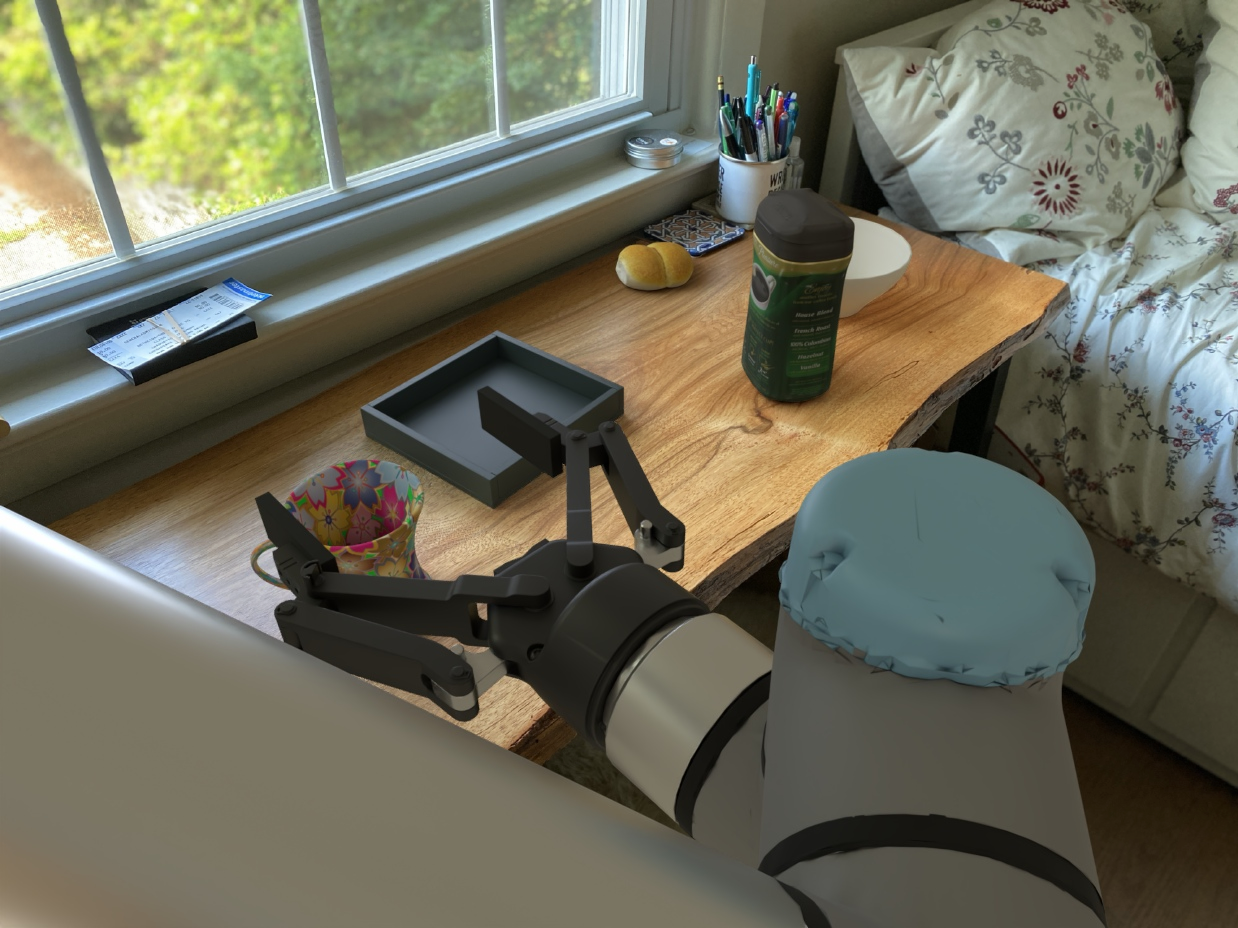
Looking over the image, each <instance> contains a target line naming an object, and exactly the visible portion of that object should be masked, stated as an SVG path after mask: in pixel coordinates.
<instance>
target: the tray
mask: <svg viewBox="0 0 1238 928" xmlns="http://www.w3.org/2000/svg"><path fill="white" fill-rule="evenodd" d="M487 385H488V386H489V387H491V388H492V389H494V390H495V391H497V392H498V393H500V394H501V395H503V396H504V397H506V398H507V399H509V400H510V401H512V402H513V403H515V404H517V405H518V406H520V407H521V408H523V409H524V410H526V411H527V412H529V413H530V414H532V415H533V414H535V413H537V412H541V413H545V414H547V415H549V416H550V417H552V418H553V419H555V420H557V421H558V422H560V423H561V424H563V425H564V426H566V427H567V428H569V429H571V430H572V431H574V430H581V431H584V432H586V433H587V434H589V433H593V432H597V431H599V426H600V424H602V423H604V422H609V421H612V422H616V420H618V419H619V418H621V417H623V415H624V414H625V387H624V386H623V385H621V384H619V383H616V382H614V381H612V380H609V379H608V378H605V377H603V376H601V375H598V374H596V373H595V372H592V371H589V370H587V369H585V368H582V367H580V366H578V365H577V364H573V363H572V362H569V361H567V360H565V359H562V358H560V357H558V356H556V355H553V354H551V353H549V352H547V351H544V350H542V349H540V348H537V347H536V346H533V345H531V344H529V343H526V342H524V341H522V340H519V339H518V338H515V337H513V336H511V335H508V334H506V333H504V332H501V331H500V330H495V331H494V332H492V333H490V334H488V335H486V336H485V337H483V338H481V339H479V340H477V341H476V342H474V343H472V344H471V345H469V346H467V347H465V348H464V349H461V350H460V351H458V352H456V353H455V354H452V355H451V356H450V357H447V358H446V359H444V360H442V361H440V362H439V363H437V364H435V365H433V366H432V367H429V368H428V369H426V370H425V371H423V372H421V373H419V374H417V375H415V376H414V377H412V378H410V379H409V380H406V381H405V382H403V383H401V384H400V385H398V386H396V387H394V388H392V389H391V390H389V391H388V392H386V393H384V394H382V395H381V396H378V397H376V398H375V399H374V400H371V401H369V402H368V403H366V404H364V405H362V406H360V407H359V410H360V415H361V419H362V424H363V429H364V434H365V436H367V437H368V438H369V439H372V440H373V441H375V442H377V443H378V444H380V445H382V446H384V447H385V448H387V449H389V450H391V451H393V452H394V453H396V455H399V456H401V457H403V458H405V459H406V460H408V461H410V462H411V463H413V464H415V465H416V466H418V467H419V468H422V469H423V470H425V471H427V472H429V474H432V475H434V476H436V477H437V478H439V479H440V480H442V481H444V482H446V483H447V484H449V485H451V486H453V487H455V488H456V489H458V490H459V491H461V492H462V493H464V494H466V495H469V496H470V497H472V498H473V499H475V500H477V501H479V502H480V503H482V504H484V505H486V506H487V507H489V508H490V509H492V510H493V509H495V508H497V507H498V506H500V505H501V504H503V503H504V502H506V500H508V499H509V498H511V497H512V496H513V495H514V494H517V492H519V491H521V490H522V489H523V488H524V487H526V486H527V485H529V484H530V483H531V482H533V481H534V480H535V479H536V478H539V476H540V475H542V474H544V472H543V471H541V470H540V469H539V468H537V467H536V466H534V465H533V464H531V463H530V462H529V461H527V460H526V459H524V458H523V457H522V456H520V455H519V454H517V453H516V452H514V451H513V450H512V449H510V448H509V447H507V446H506V445H504V444H503V443H502V442H500V441H499V440H497V439H496V438H495V437H493V436H492V435H490V434H489V433H487V432H486V431H485V430H483V429H482V426H481V418H480V410H479V402H478V395H477V390H479V389H481V388H483V387H485V386H487Z"/></svg>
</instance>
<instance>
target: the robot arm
mask: <svg viewBox="0 0 1238 928" xmlns="http://www.w3.org/2000/svg"><path fill="white" fill-rule="evenodd" d="M477 395H478V402H479V410H480V418H481V426H482V429H483V430H485V431H486V432H487V433H489V434H490V435H492V436H493V437H495V438H496V439H497V440H499V441H500V442H502V443H503V444H504V445H506V446H507V447H509V448H510V449H512V450H513V451H514V452H516V453H517V454H519V455H520V456H522V457H523V458H524V459H526V460H527V461H529V462H530V463H531V464H533V465H534V466H536V467H537V468H539V469H540V470H541V471H543V474H546V475H547V476H548V477H550V478H551V479H555V478H557V477H559V476H560V475H561V474H563V473H564V466H565V475H566V476H565V481H566V483H565V484H566V485H565V487H566V488H565V489H566V490H565V491H566V493H565V494H566V511H565V512H566V514H565V517H566V518H565V519H566V538H558V539H552V540H548V539H547V538H546V537H545V538H543V539H541V540H539V541H538V542H536V543H535V544H534V545H532V546H531V547H530V548H529V549H528V550H527V551H526V552H525V553H524V554H523V555H521V556H519V557H516V558H513V559H511V560H508V561H505V562H504V563H503V564H501V565H499V566H498V567H496V568H495V569H493V570H492V572H493V575H483V574H469V573H466V574H463V573H462V574H460V575H458V577H457V578H456V579H455V580H443V579H432V580H430V579H417V578H403V577H389V576H376V575H362V574H348V573H340V572H339V569H338V565H337V562H336V558H335V556H334V555H333V554H332V553H331V552H330V551H329V550H328V549H327V548H326V547H325V546H324V545H323V544H322V543H321V542H320V541H319V540H318V539H317V538H316V537H315V536H313V535H312V534H311V533H310V532H309V531H308V530H307V529H306V528H305V527H304V526H303V525H302V524H301V523H300V522H299V521H298V520H297V519H296V518H295V517H294V516H293V515H292V514H291V513H290V512H289V511H288V510H287V509H286V508H285V507H284V505H283V504H282V502H281V501H279V500H278V499H277V498H276V497H275V496H274V495H273V494H272V493H271V492H270V491H267V492H265V493H262V494H260V495H258V496H256V497H255V498H254V501H255V504H256V506H257V509H258V512H259V515H260V518H261V522H262V524H263V528H264V530H265V533H266V537H267V540H270V541H271V542H272V543H273V544H274V545H275V546H276V547H275V548H276V549H274V550H272V551H271V553H272V559H273V562H274V565H275V568H276V571H277V575H278V578H279V579H280V580H281V581H282V582H283V583H284V584H285V585H286V586H287V588H288V589H289V590H288V591H290V592H291V593H292V594H293V596H295V599H286V600H283V601H282V602H280V603H278V604H277V605H276V606H275V608H274V611H273V616H274V618H275V622H276V624H277V627H278V630H279V633H280V635H281V639H282V640H280V639H279V638H276V637H274V636H272V635H270V634H268V633H266V632H264V631H262V630H260V629H258V628H256V627H254V626H251V625H249V624H247V623H245V622H244V621H241V620H240V619H237V618H236V617H233V616H230V615H229V614H227V613H224V612H222V611H220V610H218V609H216V608H215V607H212V606H210V605H208V604H206V603H204V602H202V601H200V600H197V599H195V598H193V597H191V596H190V595H187V594H185V593H184V592H181V591H179V590H177V589H176V588H175V589H174V588H173V587H170V586H169V585H166V584H164V583H163V582H161V581H158V580H156V579H155V578H152V577H150V576H148V575H146V574H144V573H142V572H140V571H137V570H135V569H133V568H131V567H129V566H127V565H125V564H123V563H121V562H119V561H116V560H115V559H112V558H110V557H108V556H106V555H104V554H102V553H100V552H98V551H96V550H93V549H92V548H90V547H88V546H85V545H83V544H81V543H79V542H78V541H75V540H74V539H71V538H69V537H67V536H65V535H63V534H60V533H59V532H56V531H54V530H53V529H50V528H48V527H46V526H44V525H42V524H40V523H38V522H36V521H33V520H31V519H30V518H27V517H25V516H24V515H22V514H19V513H18V512H16V511H14V510H11V509H9V508H6V507H4V506H3V505H0V928H1108V921H1107V918H1106V910H1105V905H1104V901H1103V896H1102V890H1101V886H1100V881H1099V876H1098V872H1097V867H1096V862H1095V857H1094V853H1093V847H1092V843H1091V838H1090V833H1089V829H1088V823H1087V818H1086V814H1085V809H1084V804H1083V799H1082V794H1081V790H1080V786H1079V780H1078V775H1077V771H1076V767H1075V761H1074V755H1073V752H1072V748H1071V741H1070V738H1069V733H1068V728H1067V725H1066V719H1065V715H1064V710H1063V702H1062V701H1063V699H1062V696H1063V695H1062V690H1063V689H1062V688H1063V679H1064V674H1065V672H1066V670H1067V669H1066V668H1067V667H1068V665H1070V664H1071V663H1073V662H1074V661H1076V660H1077V659H1078V658H1079V656H1080V655H1081V652H1082V650H1083V643H1084V641H1085V639H1086V637H1087V636H1086V635H1087V634H1086V629H1085V622H1086V619H1087V615H1088V612H1089V608H1090V605H1091V601H1092V598H1093V594H1094V590H1095V587H1096V580H1097V579H1096V578H1097V577H1096V576H1097V575H1096V561H1095V557H1094V553H1093V549H1092V546H1091V544H1090V541H1089V539H1088V537H1087V535H1086V534H1085V531H1084V530H1083V528H1082V527H1081V525H1080V524H1079V522H1078V521H1077V519H1076V518H1075V517H1074V515H1073V514H1072V513H1071V512H1070V511H1069V510H1068V509H1067V507H1066V506H1065V505H1064V503H1062V502H1061V501H1060V500H1059V499H1058V498H1056V497H1055V496H1054V495H1053V494H1052V493H1050V492H1049V491H1048V490H1046V489H1045V488H1044V487H1042V486H1041V485H1039V484H1038V483H1037V482H1035V481H1034V480H1032V479H1030V478H1029V477H1026V476H1025V475H1024V474H1021V473H1020V472H1018V471H1015V470H1014V469H1011V468H1009V467H1006V466H1005V465H1003V464H1000V463H997V462H995V461H992V460H989V459H986V458H983V457H980V456H976V455H973V454H970V453H965V452H960V451H952V452H944V451H943V452H942V451H937V450H927V449H924V448H920V447H897V448H891V449H885V450H878V451H873V452H869V453H866V454H862V455H860V456H857V457H854V458H852V459H850V460H848V461H845V462H843V463H841V464H838V465H837V466H836V467H833V468H832V469H830V470H829V471H828V472H827V473H825V474H824V475H823V476H821V478H819V480H818V481H817V482H816V483H814V485H813V486H812V487H811V488H810V489H809V491H808V492H807V494H806V495H805V497H803V499H802V502H801V505H800V506H799V509H798V511H797V514H796V517H795V520H794V521H795V522H794V527H793V530H792V536H791V541H790V545H789V550H788V556H787V559H786V560H784V561H783V562H782V564H781V566H780V568H779V570H778V578H779V580H778V581H779V583H781V584H780V589H779V592H778V599H779V600H778V601H779V603H780V605H779V612H778V619H777V620H778V621H777V626H776V629H777V630H776V634H775V635H776V636H775V643H774V651H773V650H772V649H771V648H769V647H768V646H766V645H765V644H764V643H762V642H761V641H759V640H758V639H757V638H755V637H754V636H753V635H751V634H750V633H749V632H747V631H746V630H744V628H742V627H740V626H739V625H738V624H737V623H735V622H734V621H733V620H731V619H730V618H728V617H727V616H726V615H723V614H720V613H716V612H711V610H710V608H709V606H708V604H707V603H705V601H703V600H702V599H701V598H699V597H697V596H696V595H695V594H693V593H692V592H691V591H690V590H688V589H686V588H685V587H684V586H682V585H681V584H679V583H678V582H677V581H675V580H674V579H673V578H671V577H670V576H669V575H667V574H666V573H670V574H671V573H672V574H673V573H675V574H676V573H678V572H680V571H682V570H683V569H684V566H685V549H686V531H687V529H686V525H685V524H684V522H683V521H682V520H680V519H679V518H678V517H677V516H675V515H674V514H673V513H672V512H671V511H669V510H668V509H667V508H666V507H664V506H663V505H662V504H661V502H660V500H659V498H658V495H657V494H656V492H655V491H654V488H653V486H652V484H651V482H650V480H649V478H648V477H647V475H646V473H645V471H644V469H643V467H642V465H641V464H640V461H639V459H638V457H637V455H636V454H635V451H634V450H633V448H632V445H631V444H630V442H629V440H628V438H627V435H626V434H625V432H624V430H623V427H621V425H620V423H618V422H616V421H613V422H612V421H609V422H604V423H602V424H600V426H599V431H597V432H593V433H589V434H587V433H586V432H584V431H581V430H574V431H572V430H571V429H569V428H567V427H566V426H564V425H563V424H561V423H560V422H558V421H557V420H555V419H553V418H552V417H550V416H549V415H547V414H545V413H541V412H537V413H535V414H533V415H532V414H530V413H529V412H527V411H526V410H524V409H523V408H521V407H520V406H518V405H517V404H515V403H513V402H512V401H510V400H509V399H507V398H506V397H504V396H503V395H501V394H500V393H498V392H497V391H495V390H494V389H492V388H491V387H489V386H488V385H487V386H485V387H483V388H481V389H479V390H477ZM599 466H600V467H601V470H602V472H603V474H604V477H605V478H606V480H607V482H608V485H609V487H610V489H611V491H612V494H613V496H614V498H615V500H616V502H617V505H618V506H619V509H620V511H621V513H622V515H623V517H624V519H625V521H626V524H627V526H628V528H629V530H630V533H631V535H632V537H633V542H634V543H633V548H632V547H628V546H625V545H619V544H618V545H617V544H610V543H609V544H608V543H601V542H600V543H599V542H594V538H593V537H594V535H593V514H592V511H593V510H592V493H591V491H592V489H591V470H590V469H593V468H597V467H599ZM660 569H661V570H660ZM662 570H663V571H664V572H665V573H664V572H663V571H662ZM478 604H482V605H483V604H485V605H486V619H485V618H482V617H481V616H480V614H479V610H478V609H479V608H478ZM424 636H427V637H428V636H429V637H442V638H453V639H455V640H457V641H458V642H459V644H458V643H457V644H454V645H452V646H451V647H450V648H448V647H446V646H445V645H443V644H441V643H440V642H437V641H436V640H433V639H430V638H427V637H424ZM463 645H464V646H467V647H477V648H487V649H486V650H485V651H481V652H471V651H467V650H465V648H464V646H463ZM504 677H508V678H513V679H517V680H519V681H522V682H523V683H525V684H527V685H529V686H530V687H531V688H532V690H533V691H534V692H535V693H536V694H537V696H538V697H539V698H540V699H541V700H542V701H543V703H545V705H547V707H549V708H550V709H551V710H552V711H553V712H554V713H555V714H556V715H557V716H559V717H560V718H561V719H562V720H563V721H564V722H565V723H566V724H567V725H568V726H570V727H571V728H572V729H573V730H574V731H575V732H576V733H577V734H578V735H579V736H580V737H581V738H582V739H584V740H585V742H587V743H588V744H589V745H590V746H591V747H592V748H593V749H596V750H597V751H602V752H605V755H606V757H607V758H608V760H609V761H610V763H611V765H612V766H613V767H614V768H616V769H617V770H618V771H619V772H620V773H621V774H622V775H623V776H624V777H625V778H627V780H629V781H630V782H631V783H632V784H633V785H634V786H635V787H636V788H637V789H639V790H640V791H641V792H642V793H643V794H644V795H645V796H646V797H647V798H648V799H650V800H651V802H653V803H654V804H655V805H656V806H657V807H658V808H659V809H660V810H661V811H663V812H664V814H666V815H667V816H668V817H669V818H670V819H671V820H673V822H675V824H677V825H678V826H679V828H680V829H681V830H682V831H684V832H685V833H686V834H687V835H685V834H684V833H682V832H679V831H677V830H675V829H674V828H671V827H669V826H667V825H665V824H663V823H660V822H659V821H656V820H655V819H653V818H650V817H648V816H646V815H644V814H642V813H640V812H638V811H635V810H634V809H631V808H629V807H627V806H625V805H623V804H621V803H619V802H617V801H615V800H613V799H611V798H608V797H607V796H605V795H602V794H600V793H598V792H596V791H594V790H592V789H590V788H588V787H586V786H584V785H581V784H580V783H577V782H575V781H573V780H571V779H569V778H567V777H565V776H563V775H561V774H559V773H556V772H555V771H553V770H551V769H548V768H546V767H544V766H542V765H540V764H538V763H537V762H534V761H532V760H531V759H528V758H526V757H524V756H521V755H520V754H517V753H515V752H513V751H511V750H509V749H507V748H505V747H503V746H501V745H499V744H497V743H495V742H492V741H491V740H488V739H486V738H484V737H482V736H480V735H478V734H476V733H473V732H472V731H470V730H467V729H465V728H463V727H462V726H459V725H457V724H455V723H454V722H451V721H449V720H447V719H445V718H443V717H440V716H438V715H436V714H434V713H432V712H430V711H428V710H426V709H424V708H422V707H420V706H418V705H416V704H413V703H412V702H409V701H407V700H405V699H403V698H402V697H399V696H396V695H395V694H392V693H391V692H389V691H387V690H385V689H382V688H380V687H378V686H376V685H374V684H372V683H370V682H368V681H371V682H373V683H377V684H381V685H384V686H387V687H390V688H394V689H396V690H400V691H403V692H406V693H409V694H413V695H416V696H419V697H423V698H426V699H428V700H429V701H431V703H434V705H436V706H437V707H438V708H440V710H442V711H443V712H444V713H446V714H447V715H449V716H450V717H451V718H452V719H454V720H455V721H457V722H458V723H459V722H460V723H466V722H471V721H472V720H474V719H475V718H476V717H477V716H478V715H479V713H480V702H479V698H481V696H483V695H484V694H485V693H486V692H488V690H489V689H491V688H492V687H493V686H494V685H496V684H497V683H498V682H499V681H501V679H502V678H504ZM363 679H365V680H363ZM366 680H368V681H366ZM688 835H689V836H688Z"/></svg>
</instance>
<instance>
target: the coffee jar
mask: <svg viewBox="0 0 1238 928" xmlns="http://www.w3.org/2000/svg"><path fill="white" fill-rule="evenodd" d="M849 217H850V216H849V215H848V214H847V213H846V212H844V210H842V209H841V208H840V207H839V206H838V205H836V204H835V203H834V202H833V201H831V200H830V199H829V198H826V197H824V196H823V195H821V194H820V193H818V192H815V191H814V190H813V189H812V188H810V187H804V188H803V187H802V188H790V189H779V190H772V191H770V192H769V193H768V194H767V195H766V196H765V197H764V198H763V199H762V200H761V201H760V203H759V204H758V206H757V209H756V213H755V218H754V224H753V231H752V233H753V234H752V245H753V246H752V247H753V249H752V250H753V251H752V253H753V255H752V269H751V270H752V271H751V278H750V279H751V282H750V289H749V295H748V303H747V304H748V305H747V312H746V313H747V314H746V322H745V326H744V327H745V328H744V335H743V342H742V350H741V359H740V361H741V362H740V363H741V366H742V368H743V371H744V374H745V375H746V377H747V379H748V380H749V382H750V383H751V384H752V385H753V387H754V389H755V390H756V391H758V393H759V394H760V395H762V396H763V397H764V398H766V399H768V400H771V401H777V402H778V401H779V402H789V403H799V402H800V403H801V402H806V401H809V400H814V399H815V398H819V397H820V396H823V395H824V394H826V393H827V392H828V391H829V390H830V389H831V385H832V379H833V371H834V365H835V358H836V357H835V356H836V349H837V339H838V338H837V337H838V331H839V323H840V318H839V316H840V309H841V302H842V294H843V288H844V282H845V277H846V273H847V269H848V266H849V264H850V261H851V258H852V254H853V245H854V231H855V224H854V222H853V221H852V219H850V218H849Z"/></svg>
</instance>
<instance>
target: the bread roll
mask: <svg viewBox="0 0 1238 928" xmlns="http://www.w3.org/2000/svg"><path fill="white" fill-rule="evenodd" d="M617 258H618V259H617V262H616V266H615V271H616V272H615V273H616V274H617V277H618V279H619V280H620V281H621V282H622V283H623V284H624V285H625V286H626V287H629V288H631V289H634V290H641V291H655V290H662V289H665V288H677V287H681V286H684V285H685V284H686V283H687V282H688V281H689V279H690V278H691V277H692V275H693V272H694V260H693V258H692V255H691V254H690V252H689V251H688V249H686V248H685V247H684V246H682V245H681V244H679V243H676V242H670V241H659V242H658V241H657V242H652V243H650V244H648V245H644V244H632V245H631V244H630V245H628V246H626V247H625V248H623V249H622V250H621V252H619V255H618V257H617Z"/></svg>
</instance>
